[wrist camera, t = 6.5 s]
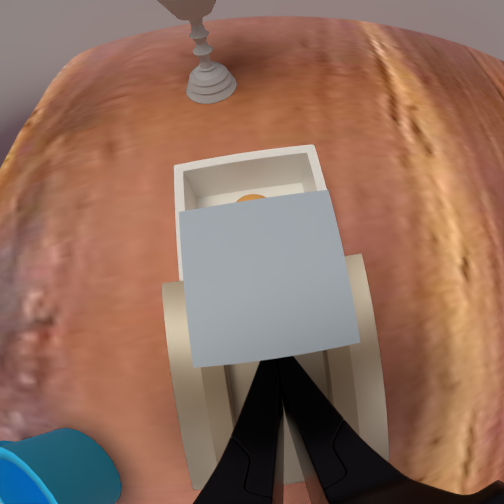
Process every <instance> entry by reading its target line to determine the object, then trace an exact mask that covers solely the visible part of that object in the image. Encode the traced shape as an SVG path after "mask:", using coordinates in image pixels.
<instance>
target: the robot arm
mask: <svg viewBox="0 0 504 504" xmlns="http://www.w3.org/2000/svg"><path fill="white" fill-rule="evenodd" d="M283 407H284V409H283ZM284 412H285V416H286V420H287V423H288V426H289V430H290V433H291V437H292V440H293V443H294V447H295V450H296V453H297V457H298V460H299V463H300V467H301V470H302V473H303V477H304V480H305V483H306V487H307V490H308V493H309V497H310V500H311V503H312V504H504V482H502V481H499V480H497V481H495V482H493V483H492V484H490V485H488V486H487V487H485V488H484V489H482V490H480V491H479V492H477V493H474V494H470V495H460V494H455V493H452V492H448V491H445V490H442V489H438V488H435V487H432V486H429V485H426V484H423V483H420V482H418V481H415V480H413V479H410V478H409V477H407V476H405V475H404V474H402V473H401V472H400V471H398V470H397V469H396V468H395V467H393V466H392V465H391V464H390V463H389V462H387V461H386V460H385V459H384V458H383V457H382V456H380V455H379V454H378V453H377V452H376V451H375V450H374V449H372V448H371V447H370V446H369V445H368V444H367V443H366V442H365V441H364V440H363V439H362V438H361V437H360V436H359V435H358V434H357V433H356V432H355V431H354V429H353V428H352V427H351V426H350V425H349V424H348V422H347V421H346V420H344V418H343V417H342V415H341V414H340V413H339V412H338V410H337V409H336V408H335V407H334V406H333V404H332V403H331V402H330V401H329V399H328V398H327V397H326V396H325V395H324V393H323V392H322V391H321V390H320V388H319V387H318V386H317V385H316V383H315V382H314V381H313V380H312V378H311V377H310V376H309V375H308V373H307V372H306V371H305V370H304V368H303V367H302V366H301V365H300V363H299V362H298V361H297V360H296V358H295V357H294V356H288V357H282V358H275V359H269V360H261V361H260V362H259V365H258V367H257V370H256V373H255V375H254V378H253V380H252V383H251V386H250V388H249V391H248V393H247V396H246V399H245V401H244V404H243V406H242V409H241V411H240V414H239V416H238V419H237V421H236V424H235V426H234V429H233V431H232V434H231V437H230V438H229V441H228V443H227V446H226V448H225V450H224V452H223V454H222V457H221V459H220V461H219V462H218V464H217V466H216V468H215V470H214V471H213V473H212V475H211V476H210V478H209V479H208V481H207V483H206V484H205V486H204V487H203V489H202V490H201V492H200V494H199V495H198V497H197V498H196V500H195V501H194V503H193V504H283V490H284Z"/></svg>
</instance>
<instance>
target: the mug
mask: <svg viewBox="0 0 504 504" xmlns="http://www.w3.org/2000/svg"><path fill="white" fill-rule="evenodd" d="M120 493H121V482H120V478H119V473H118V471H117V469H116V468H115V466H114V464H113V462H112V460H111V459H110V457H109V456H108V455H107V454H106V452H105V451H104V450H103V448H102V447H101V446H99V445H98V444H97V443H96V442H95V441H94V440H92V439H91V438H90V437H88V436H87V435H85V434H83V433H81V432H79V431H77V430H73V429H69V428H64V429H58V430H54V431H51V432H48V433H45V434H41V435H38V436H35V437H31V438H28V439H24V440H21V441H17V442H13V441H0V503H1V504H115V503H116V501H117V500H118V499H119V497H120Z"/></svg>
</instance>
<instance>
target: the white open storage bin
mask: <svg viewBox="0 0 504 504" xmlns="http://www.w3.org/2000/svg"><path fill="white" fill-rule="evenodd" d="M174 190H175V216H176V236H177V252H178V266H179V279H180V281H183V269H182V256H181V242H180V225H179V212H181V211H187V210H192V209H198V208H204V207H210V206H216V205H222V204H228V203H235V202H236V201H237V200H238V199H240V198H241V197H243V196H245V195H249V194H258V195H262V196H264V197H266V198H268V197H275V196H282V195H290V194H297V193H305V192H313V191H321V190H327V189H326V185H325V181H324V178H323V174H322V170H321V167H320V164H319V160H318V157H317V153H316V150H315V147H314V144H313V145H303V146H294V147H285V148H276V149H268V150H261V151H254V152H247V153H240V154H234V155H228V156H222V157H216V158H210V159H204V160H199V161H194V162H189V163H184V164H179V165H174Z"/></svg>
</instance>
